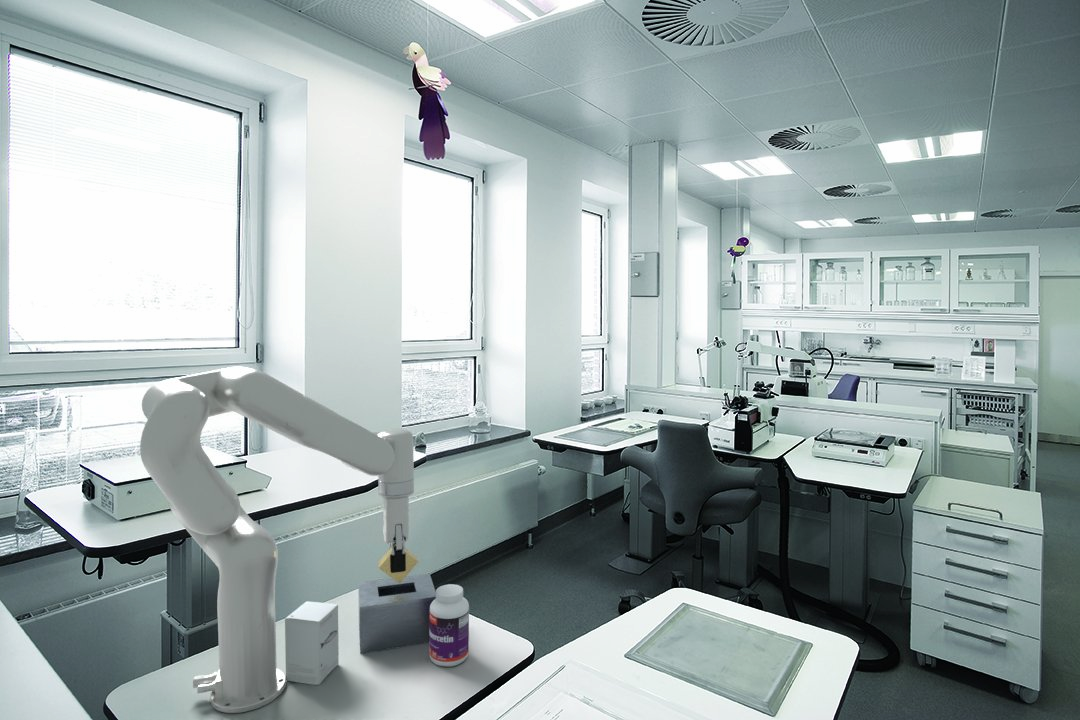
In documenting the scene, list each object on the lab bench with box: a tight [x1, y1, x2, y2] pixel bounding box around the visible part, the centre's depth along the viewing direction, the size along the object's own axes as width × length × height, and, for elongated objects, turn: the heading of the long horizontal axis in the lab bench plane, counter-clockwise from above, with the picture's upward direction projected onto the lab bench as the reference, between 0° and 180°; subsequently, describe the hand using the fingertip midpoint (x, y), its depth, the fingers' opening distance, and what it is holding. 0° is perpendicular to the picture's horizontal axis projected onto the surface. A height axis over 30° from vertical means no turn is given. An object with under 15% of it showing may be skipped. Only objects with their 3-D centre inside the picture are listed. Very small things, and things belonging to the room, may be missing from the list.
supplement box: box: [284, 600, 340, 686], centre depth 116 cm, size 7×7×13 cm
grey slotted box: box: [357, 573, 436, 654], centre depth 131 cm, size 16×12×10 cm
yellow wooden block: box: [377, 544, 419, 584], centre depth 130 cm, size 6×3×6 cm
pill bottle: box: [428, 583, 470, 667], centre depth 121 cm, size 8×8×14 cm
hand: (397, 567), depth 130 cm, fingers closed on yellow wooden block, 2 cm apart
